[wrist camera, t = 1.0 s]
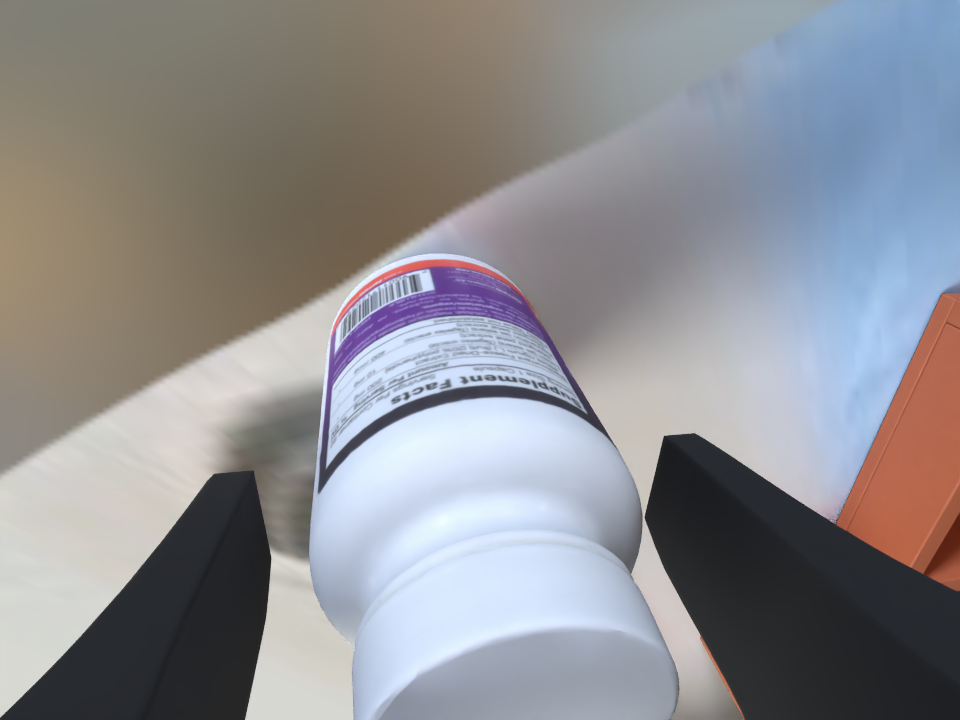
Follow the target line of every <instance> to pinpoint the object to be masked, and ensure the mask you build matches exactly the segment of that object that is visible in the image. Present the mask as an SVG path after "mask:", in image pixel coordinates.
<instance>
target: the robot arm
mask: <svg viewBox="0 0 960 720" xmlns="http://www.w3.org/2000/svg"><path fill="white" fill-rule="evenodd" d="M645 520H646V523H647V526H648V528H649V531H650V534H651V536H652V539H653V542H654V544H655V547H656V549H657V552H658V554H659V557H660V559H661V562H662V564H663V566H664V569H665V571H666V572H667V574H668V576H669V578H670V580H671V582H672V584H673V586H674V587H675V589H676V591H677V593H678V595H679V597H680V599H681V600H682V602H683V604H684V606H685V608H686V610H687V611H688V613H689V615H690V617H691V619H692V620H693V622H694V624H695V626H696V628H697V629H698V631H699V633H700V635H701V637H702V639H703V640H704V642H705V644H706V646H707V648H708V649H709V651H710V653H711V655H712V657H713V658H714V660H715V662H716V664H717V666H718V667H719V669H720V671H721V673H722V675H723V676H724V678H725V680H726V682H727V684H728V686H729V688H730V690H731V692H732V694H733V696H734V698H735V700H736V702H737V704H738V706H739V708H740V710H741V712H742V714H743V716H744V719H745V720H960V593H959V592H957V591H955V590H953V589H951V588H949V587H947V586H945V585H943V584H941V583H939V582H938V581H936V580H934V579H932V578H930V577H928V576H926V575H924V574H922V573H920V572H918V571H916V570H915V569H913V568H911V567H909V566H907V565H905V564H903V563H901V562H899V561H897V560H896V559H894V558H892V557H890V556H888V555H887V554H885V553H883V552H881V551H879V550H878V549H876V548H874V547H872V546H871V545H869V544H867V543H866V542H864V541H862V540H861V539H859V538H857V537H856V536H854V535H852V534H851V533H849V532H847V531H846V530H844V529H842V528H841V527H839V526H837V525H836V524H834V523H832V522H831V521H829V520H827V519H826V518H824V517H823V516H821V515H819V514H818V513H816V512H815V511H813V510H811V509H810V508H808V507H807V506H805V505H804V504H802V503H801V502H799V501H798V500H796V499H794V498H793V497H791V496H790V495H788V494H787V493H785V492H784V491H782V490H781V489H779V488H778V487H776V486H775V485H773V484H772V483H770V482H769V481H767V480H766V479H764V478H763V477H761V476H760V475H758V474H757V473H755V472H754V471H752V470H751V469H749V468H748V467H746V466H745V465H743V464H742V463H740V462H739V461H737V460H736V459H735V458H733V457H732V456H730V455H728V454H727V453H725V452H724V451H722V450H721V449H719V448H718V447H716V446H715V445H713V444H712V443H710V442H708V441H707V440H705V439H704V438H702V437H700V436H699V435H697V434H695V433H692V434H681V435H669V436H664V438H663V442H662V446H661V451H660V455H659V459H658V463H657V467H656V472H655V476H654V480H653V484H652V488H651V493H650V497H649V501H648V505H647V509H646V514H645ZM270 569H271V554H270V549H269V544H268V539H267V534H266V529H265V524H264V520H263V515H262V510H261V505H260V500H259V495H258V490H257V485H256V480H255V476H254V471H242V472H230V473H218V474H214V475H213V476H212V477H211V478H210V479H209V480H208V481H207V482H206V484H205V485H204V486H203V488H202V489H201V490H200V492H199V493H198V494H197V496H196V497H195V498H194V500H193V501H192V502H191V504H190V505H189V506H188V508H187V509H186V510H185V512H184V513H183V514H182V516H181V517H180V518H179V520H178V521H177V522H176V524H175V525H174V526H173V527H172V529H171V530H170V531H169V533H168V534H167V535H166V536H165V538H164V539H163V540H162V542H161V543H160V544H159V545H158V547H157V548H156V549H155V550H154V552H153V553H152V554H151V555H150V556H149V558H148V559H147V560H146V561H145V563H144V564H143V565H142V566H141V567H140V569H139V570H138V571H137V572H136V574H135V575H134V576H133V577H132V579H131V580H130V581H129V582H128V583H127V585H126V586H125V587H124V588H123V589H122V590H121V592H120V593H119V594H118V595H117V596H116V597H115V598H114V599H113V601H112V602H111V603H110V604H109V605H108V606H107V607H106V608H105V610H104V611H103V612H102V613H101V614H100V615H99V616H98V617H97V619H96V620H95V621H94V622H93V623H92V624H91V625H90V626H89V628H88V629H87V630H86V631H85V632H84V633H83V634H82V635H81V637H80V638H79V639H78V640H77V641H76V642H75V643H74V644H73V645H72V646H71V647H70V648H69V649H68V650H67V651H66V653H65V654H64V655H63V656H62V657H61V658H60V659H59V660H58V661H57V662H56V663H55V664H54V665H53V666H52V667H51V668H50V669H49V670H48V671H47V672H46V673H45V674H44V675H43V676H42V677H41V678H40V679H39V680H38V681H37V682H36V683H35V684H34V685H33V686H32V687H31V688H30V689H29V690H28V691H27V692H26V693H25V694H24V695H23V696H22V697H21V698H20V699H19V700H18V701H17V702H16V703H15V704H14V705H13V706H12V707H11V708H10V709H9V710H8V711H7V712H6V713H5V714H4V715H3V716H2V717H1V718H0V720H245V717H246V712H247V707H248V703H249V698H250V693H251V688H252V684H253V679H254V674H255V669H256V664H257V660H258V655H259V650H260V645H261V640H262V635H263V630H264V625H265V620H266V613H267V603H268V592H269V581H270Z"/></svg>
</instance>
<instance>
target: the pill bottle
mask: <svg viewBox="0 0 960 720" xmlns="http://www.w3.org/2000/svg"><path fill="white" fill-rule="evenodd" d="M641 535H642V509H641V503H640V498H639V494H638V490H637V488H636V485H635V482H634V479H633V477H632V475H631V473H630V471H629V470H628V468H627V466H626V464H625V462H624V460H623V458H622V456H621V455H620V453H619V451H618V449H617V448H616V446H615V445H614V443H613V442H612V440H611V438H610V437H609V435H608V433H607V432H606V430H605V428H604V427H603V425H602V423H601V422H600V420H599V419H598V417H597V416H596V414H595V412H594V411H593V409H592V407H591V406H590V404H589V402H588V401H587V399H586V397H585V396H584V394H583V392H582V391H581V389H580V387H579V386H578V384H577V382H576V381H575V379H574V377H573V375H572V374H571V372H570V371H569V369H568V368H567V366H566V364H565V362H564V361H563V359H562V357H561V356H560V354H559V352H558V351H557V349H556V347H555V345H554V344H553V342H552V340H551V338H550V337H549V335H548V333H547V332H546V330H545V328H544V327H543V325H542V323H541V321H540V320H539V318H538V316H537V314H536V312H535V311H534V309H533V308H532V306H531V305H530V303H529V302H528V300H527V299H526V297H525V296H524V295H523V293H522V292H521V291H520V290H519V288H518V287H517V286H516V285H515V284H514V283H513V282H512V281H511V280H510V279H509V278H507V277H506V276H505V275H504V274H502V273H501V272H499V271H498V270H496V269H495V268H493V267H491V266H489V265H487V264H485V263H483V262H480V261H478V260H475V259H472V258H469V257H465V256H460V255H453V254H424V255H418V256H413V257H409V258H405V259H402V260H399V261H396V262H394V263H391V264H389V265H387V266H385V267H383V268H381V269H379V270H377V271H376V272H374V273H373V274H371V275H370V276H368V277H367V278H366V279H364V280H363V281H362V282H361V283H360V284H359V285H358V286H357V287H356V288H355V289H354V290H353V291H352V292H351V293H350V295H349V296H348V297H347V299H346V300H345V302H344V303H343V305H342V306H341V308H340V310H339V312H338V314H337V316H336V318H335V320H334V323H333V326H332V328H331V332H330V336H329V342H328V348H327V356H326V365H325V376H324V388H323V399H322V409H321V421H320V432H319V443H318V454H317V464H316V475H315V485H314V495H313V505H312V515H311V527H310V545H309V561H310V571H311V578H312V582H313V586H314V591H315V594H316V596H317V599H318V601H319V603H320V606H321V608H322V610H323V611H324V613H325V615H326V616H327V618H328V620H329V621H330V622H331V624H332V625H333V626H334V627H335V629H336V630H337V631H338V632H339V633H340V634H341V636H342V637H343V638H344V639H345V640H346V641H348V642H349V643H350V644H351V645H353V646H354V647H355V651H354V656H353V667H352V681H353V708H354V720H670V719H671V717H672V715H673V714H674V712H675V709H676V705H677V702H678V695H679V678H678V673H677V670H676V666H675V663H674V661H673V659H672V657H671V654H670V652H669V650H668V648H667V646H666V643H665V641H664V639H663V637H662V635H661V632H660V630H659V628H658V626H657V624H656V621H655V619H654V617H653V615H652V613H651V611H650V608H649V606H648V604H647V602H646V600H645V599H644V597H643V595H642V593H641V591H640V589H639V587H638V586H637V585H636V583H635V582H634V580H633V578H632V576H631V573H632V570H633V567H634V564H635V562H636V559H637V556H638V552H639V547H640V543H641Z"/></svg>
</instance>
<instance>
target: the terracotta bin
mask: <svg viewBox="0 0 960 720" xmlns="http://www.w3.org/2000/svg"><path fill="white" fill-rule="evenodd" d="M836 525H837V526H839V527H841V528H842V529H844V530H846V531H847V532H849V533H851V534H852V535H854V536H856V537H857V538H859V539H861V540H862V541H864V542H866V543H867V544H869V545H871V546H872V547H874V548H876V549H878V550H879V551H881V552H883V553H885V554H887V555H888V556H890V557H892V558H894V559H896V560H897V561H899V562H901V563H903V564H905V565H907V566H909V567H911V568H913V569H915V570H916V571H918V572H920V573H922V574H924V575H926V576H928V577H930V578H932V579H934V580H936V581H938V582H939V583H941V584H943V585H945V586H947V587H949V588H951V589H953V590H955V591H960V293H943V294H942V295H941V296H940V299H939V301H938V303H937V305H936V307H935V309H934V312H933V314H932V316H931V318H930V320H929V323H928V325H927V327H926V329H925V331H924V333H923V336H922V338H921V340H920V342H919V344H918V346H917V349H916V351H915V353H914V355H913V357H912V359H911V362H910V364H909V366H908V368H907V370H906V373H905V375H904V377H903V379H902V381H901V383H900V386H899V388H898V390H897V392H896V394H895V396H894V399H893V401H892V403H891V405H890V407H889V410H888V412H887V414H886V416H885V418H884V420H883V423H882V425H881V427H880V429H879V431H878V433H877V436H876V438H875V440H874V442H873V444H872V446H871V449H870V451H869V453H868V455H867V457H866V460H865V462H864V464H863V466H862V468H861V470H860V473H859V475H858V477H857V479H856V481H855V483H854V486H853V488H852V490H851V492H850V494H849V496H848V499H847V501H846V503H845V505H844V507H843V510H842V512H841V514H840V516H839V518H838V520H837V523H836Z"/></svg>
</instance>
